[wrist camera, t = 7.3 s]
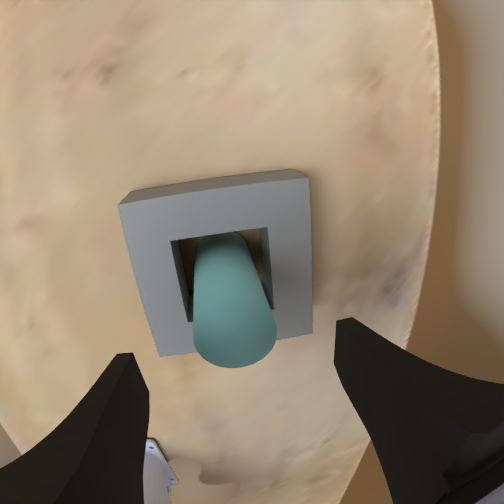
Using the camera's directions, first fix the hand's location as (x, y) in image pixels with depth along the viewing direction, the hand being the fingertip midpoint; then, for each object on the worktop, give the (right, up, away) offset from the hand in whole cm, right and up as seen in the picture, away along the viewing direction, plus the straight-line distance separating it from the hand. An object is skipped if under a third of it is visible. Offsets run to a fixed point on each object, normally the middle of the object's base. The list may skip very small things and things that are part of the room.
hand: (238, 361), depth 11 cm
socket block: (-1, +4, +9) cm, 9 cm away
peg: (-1, +4, +9) cm, 9 cm away
